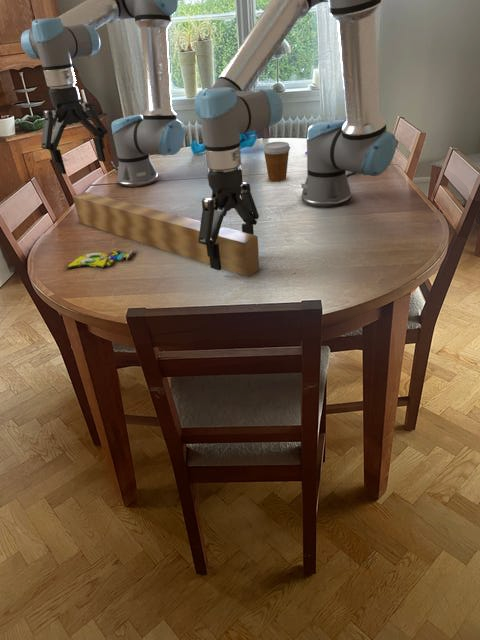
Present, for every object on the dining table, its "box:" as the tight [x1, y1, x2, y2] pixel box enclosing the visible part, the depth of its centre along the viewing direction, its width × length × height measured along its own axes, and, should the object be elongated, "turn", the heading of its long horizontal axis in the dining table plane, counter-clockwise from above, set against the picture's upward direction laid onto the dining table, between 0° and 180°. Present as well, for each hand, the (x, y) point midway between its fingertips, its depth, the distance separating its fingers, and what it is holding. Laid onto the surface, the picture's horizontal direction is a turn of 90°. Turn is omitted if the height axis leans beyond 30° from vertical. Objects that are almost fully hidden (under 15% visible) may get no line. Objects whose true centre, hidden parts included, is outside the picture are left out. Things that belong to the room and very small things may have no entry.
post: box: [72, 191, 260, 277], centre depth 130 cm, size 68×5×8 cm, turn 50°
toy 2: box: [189, 130, 258, 155], centre depth 209 cm, size 17×11×30 cm
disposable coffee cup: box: [262, 141, 291, 183], centre depth 169 cm, size 10×10×12 cm
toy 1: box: [66, 249, 134, 270], centre depth 125 cm, size 10×1×15 cm
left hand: (82, 167), depth 139 cm, fingers open, 13 cm apart
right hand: (232, 258), depth 116 cm, fingers open, 11 cm apart
